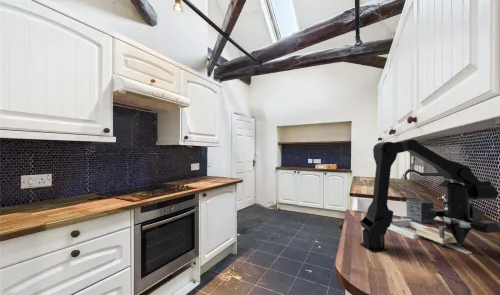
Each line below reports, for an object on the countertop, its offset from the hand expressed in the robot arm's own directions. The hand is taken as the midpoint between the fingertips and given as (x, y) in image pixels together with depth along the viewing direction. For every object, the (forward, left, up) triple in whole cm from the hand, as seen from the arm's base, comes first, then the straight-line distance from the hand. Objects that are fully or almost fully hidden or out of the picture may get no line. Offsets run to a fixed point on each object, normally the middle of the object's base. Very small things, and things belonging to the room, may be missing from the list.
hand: (460, 243), depth 73 cm
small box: (+18, +30, -3) cm, 35 cm away
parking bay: (0, +12, -2) cm, 12 cm away
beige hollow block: (0, +8, -2) cm, 8 cm away
